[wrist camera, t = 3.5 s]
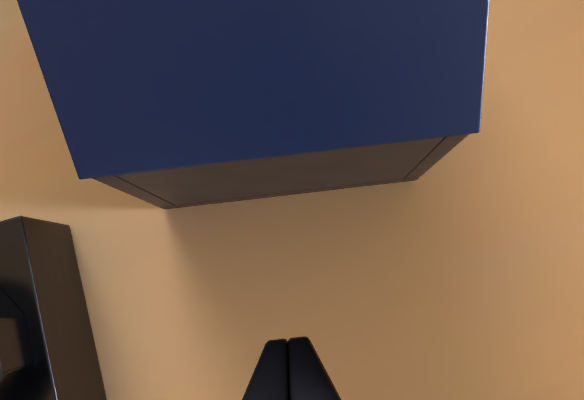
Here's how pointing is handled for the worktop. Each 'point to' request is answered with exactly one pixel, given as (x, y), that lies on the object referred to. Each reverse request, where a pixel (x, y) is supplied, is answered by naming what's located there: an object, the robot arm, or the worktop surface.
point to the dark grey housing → (285, 173)
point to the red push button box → (44, 316)
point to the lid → (254, 76)
